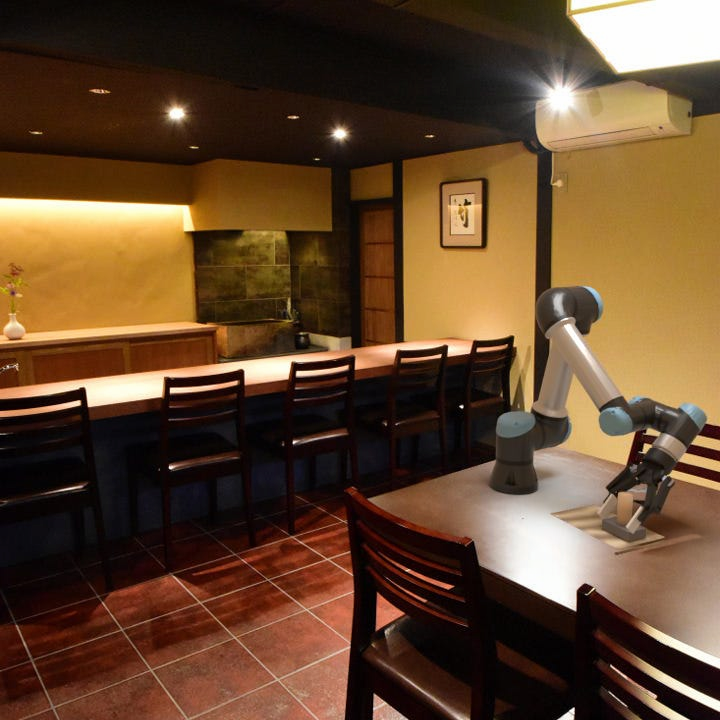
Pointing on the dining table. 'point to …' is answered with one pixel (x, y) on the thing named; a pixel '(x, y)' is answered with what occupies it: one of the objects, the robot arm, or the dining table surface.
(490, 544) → the dining table surface
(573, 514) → the birch board
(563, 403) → the robot arm
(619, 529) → the sanding block
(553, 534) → the dining table surface
